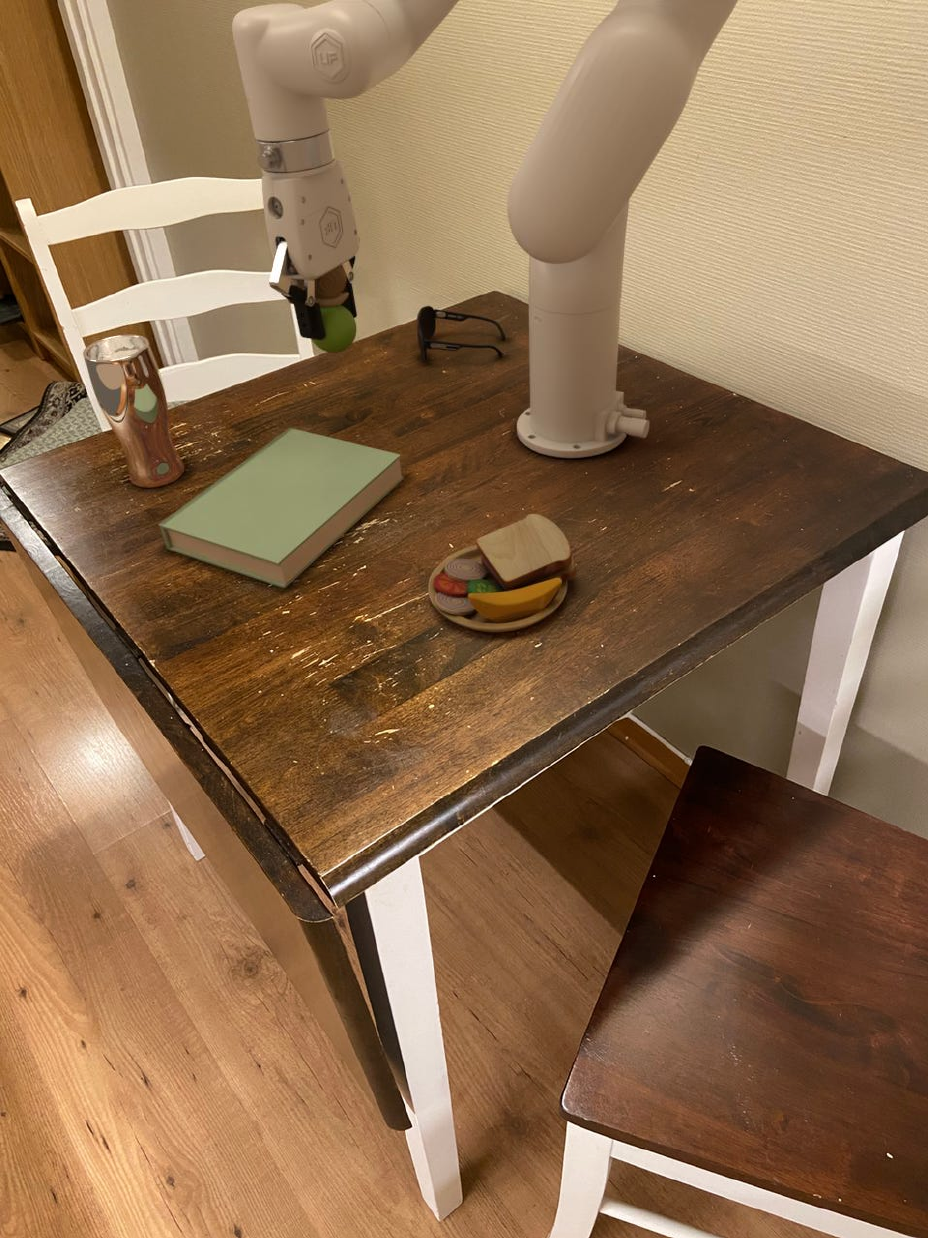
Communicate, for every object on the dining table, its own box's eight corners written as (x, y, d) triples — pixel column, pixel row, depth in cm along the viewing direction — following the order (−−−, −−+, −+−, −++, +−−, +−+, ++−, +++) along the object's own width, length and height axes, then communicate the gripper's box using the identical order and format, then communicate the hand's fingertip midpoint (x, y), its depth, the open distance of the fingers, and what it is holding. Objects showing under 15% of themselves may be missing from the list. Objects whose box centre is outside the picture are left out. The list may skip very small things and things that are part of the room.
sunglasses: (421, 333, 125) (422, 298, 122) (505, 342, 125) (508, 307, 121) (410, 365, 117) (412, 329, 114) (500, 375, 117) (504, 339, 113)
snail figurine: (306, 345, 105) (283, 240, 97) (360, 338, 105) (342, 233, 97) (304, 364, 100) (280, 256, 93) (359, 357, 100) (341, 249, 93)
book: (403, 478, 96) (400, 454, 94) (284, 588, 82) (278, 563, 80) (294, 450, 102) (289, 427, 100) (166, 549, 88) (158, 524, 86)
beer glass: (172, 492, 97) (130, 362, 87) (115, 488, 98) (67, 360, 88) (198, 459, 102) (162, 333, 92) (144, 456, 103) (102, 332, 93)
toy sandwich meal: (415, 567, 84) (410, 526, 80) (551, 539, 86) (551, 498, 83) (447, 652, 74) (443, 609, 71) (598, 619, 76) (600, 575, 73)
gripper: (272, 178, 82) (310, 362, 94) (373, 133, 93) (397, 303, 105) (211, 174, 85) (256, 353, 97) (317, 131, 96) (345, 296, 108)
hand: (329, 325), depth 101 cm, fingers closed on snail figurine, 5 cm apart
